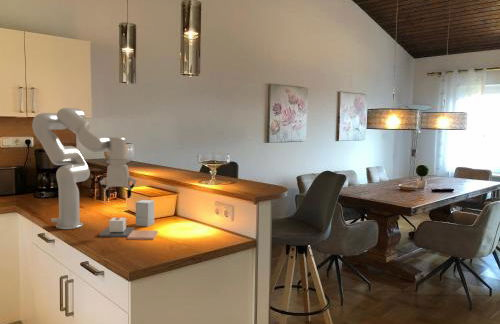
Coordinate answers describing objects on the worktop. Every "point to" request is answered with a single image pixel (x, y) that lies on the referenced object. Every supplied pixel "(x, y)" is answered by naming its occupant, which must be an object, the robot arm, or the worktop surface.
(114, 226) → the pale grey cube
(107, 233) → the post base
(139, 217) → the supplement box
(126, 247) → the worktop surface
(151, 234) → the coaster
